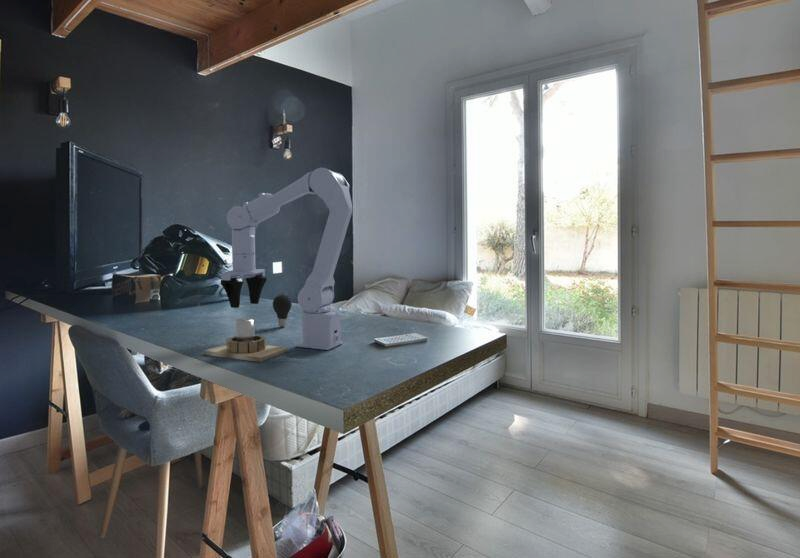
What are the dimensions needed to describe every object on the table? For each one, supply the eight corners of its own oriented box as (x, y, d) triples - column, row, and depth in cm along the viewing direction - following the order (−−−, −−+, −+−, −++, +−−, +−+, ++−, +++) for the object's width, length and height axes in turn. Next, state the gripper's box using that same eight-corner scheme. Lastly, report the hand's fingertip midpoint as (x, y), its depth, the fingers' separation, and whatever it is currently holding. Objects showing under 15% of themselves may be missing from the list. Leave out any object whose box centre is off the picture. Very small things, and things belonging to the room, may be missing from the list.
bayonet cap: (230, 349, 108) (230, 320, 108) (241, 346, 112) (241, 317, 112) (249, 351, 107) (249, 322, 106) (260, 348, 110) (260, 319, 110)
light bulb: (287, 329, 137) (286, 296, 137) (269, 328, 139) (269, 295, 138) (295, 325, 143) (294, 293, 142) (278, 325, 144) (277, 293, 143)
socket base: (287, 351, 111) (287, 337, 111) (260, 362, 102) (260, 346, 102) (234, 345, 117) (234, 331, 117) (204, 354, 108) (204, 339, 107)
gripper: (249, 252, 128) (250, 301, 130) (211, 254, 115) (212, 308, 116) (270, 253, 126) (271, 302, 127) (233, 255, 112) (235, 310, 114)
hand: (245, 305), depth 122 cm, fingers open, 7 cm apart
